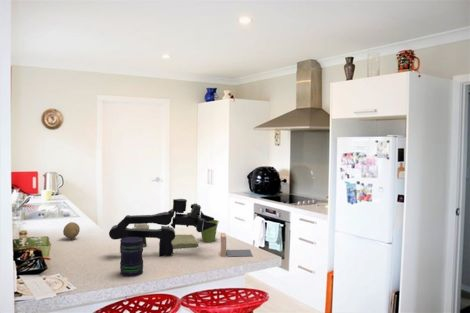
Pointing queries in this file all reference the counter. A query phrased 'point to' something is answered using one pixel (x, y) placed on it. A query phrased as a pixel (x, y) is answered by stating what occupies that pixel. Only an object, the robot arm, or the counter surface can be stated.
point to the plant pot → (210, 232)
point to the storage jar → (131, 256)
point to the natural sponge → (71, 230)
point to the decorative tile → (184, 242)
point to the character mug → (142, 226)
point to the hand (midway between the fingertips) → (214, 221)
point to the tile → (223, 244)
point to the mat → (239, 253)
